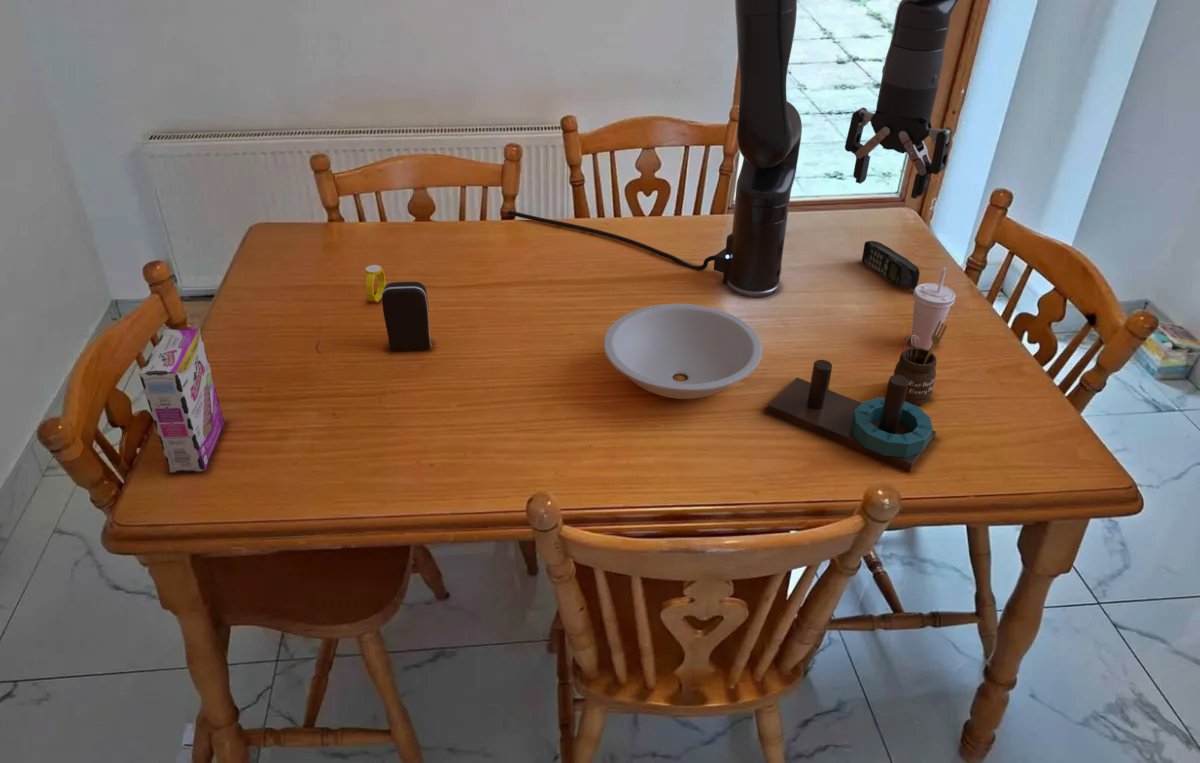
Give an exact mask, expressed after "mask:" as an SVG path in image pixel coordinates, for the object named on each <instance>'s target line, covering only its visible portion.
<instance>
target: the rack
mask: <svg viewBox="0 0 1200 763" xmlns="http://www.w3.org/2000/svg"><path fill="white" fill-rule="evenodd" d="M832 370H833V364H832V362H830V361H828V360H825V359H817V360H815V361H814V362H813V365H812V371H811V377H810V381H808V380H805V379H802V378H800V377H796V378H794V379H793V381H792V382H790V383H789V384H788V386H786V387H785V388H784V389H783V390H782V391H781V392H780V393H779V394H778V395H777V396H776V397H775V398H773V400H772V401H771V402H769V404H768V405H767V414H769V415H771V416H774V417H775V418H778V419H780V420H783V421H785V422H788V423H791V424H793V425H795V426H797V427H800V428H802V429H805V430H807V431H809V432H812V433H815V434H817V435H819V436H822V437H823V438H827V439H829V440H832V441H833V442H836V443H839V444H841V445H843V446H846V447H848V448H851V449H853V450H856V451H858V452H860V453H863V454H865V455H867V456H870V457H872V458H874V459H877V460H880V461H882V462H884V463H886V464H889V465H890V466H894V467H896V468H898V469H901V470H903V471H906V472H908V473H911V472H912V470H913V469H914V467H915V466H916V465H917V464H918V462H919V461H920V460H921V458H922V457H923V455H924V454H925V453H927V452H926V451H927V450H928V449H929V448H930V446H931V445H932V444H933V442H934V441H935V439H936V436H937V431H936V430H934V429H933V431H932V435H931V439H930V442H929V444H928V445H927V446H926V448H925V449H924V450H923V452H922V453H918V454H915V455H911V456H908V457H896V456H885V455H882V454H879V453H877V452H875V451H872V450H870V449H867V448H865V447H864V446H863V445H862V444H861V443H860V442H859V441H858V440H857V439H856V438H855V437H854V436H853V429H852V420H853V415H854V411H855V410H856V409H857V408H858V407H859V405H860V404H861V403H862V402H863V401H859V400H856V399H853V398H851V397H848V396H846V395H843V394H841V393H838V392H835V391H833V390H830V389H829V386H830V381H831V375H832ZM887 382H888V383H887V388H886V391H885V395H884V398H885V400H884V404H883V409H882V413H881V418H880V419H879V420H875V421H872V422H871V423H872V424H873V425H874V426H875V427H876V428H877V429H880V430H882V431H885V432H887V433H889V434H900V435H903V434H907V433H910V432H913V431H912V430H911V429H909V428H908V427H907V426H906V425H905V424H902V423H900V418H901V413H902V409H903V405H904V401H905V397H906V393H907V389H908V384H909V380H908V379H907V378H906V377H904V376H901V375H894V374H892V375H890V376H889V378H888V381H887Z"/></svg>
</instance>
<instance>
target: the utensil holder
mask: <svg viewBox="0 0 1200 763" xmlns="http://www.w3.org/2000/svg"><path fill="white" fill-rule="evenodd" d="M940 324H941V321H939V323H938V325H937V327H936V329H935V331H934V333H933V335H932V338H931V339H932V342H933V344H932V346H931V348H930V349H929V350H926V349H922V348H916V347H914V346H913V342H912V341H911V340H910V345H911V347H908V345H907V344H908V340H909V339H908V338H911V337H912V336H913V335H912V334H910V335H907V336H906V337H905V338H904V340H903V341H905V340H906V341H905V343H902V344H903V346H902V348H903V350H902V352H901V354H900V355H899V360H898V361H897V363H896V365H895V367H894V371H893V375H901V376H904V377H906V378H907V379H908V380H909V384H908V389H907V393H906V397H905V402H908V403H910V404H913V405H915V406H918V405H923V404H925V403H927V402H928V401H929V400H930V398H931V396H932V393H933V389H934V385H935V380H936V375H937V371H936V367H937V357H936V354H934V353H933V350H934V348H935V345H937V344H938V345H939V344H940V343H941V342H942V338H943V336H944V334H945V332H946V330H947V328H948V325H947V324H945V322H944V323H942V325H941V327H940V329H939V331H938V328H939V326H940ZM937 331H938V333H937ZM936 333H937V335H936ZM915 336H916V335H914V337H915ZM917 337H918V336H917ZM914 339H915V338H914ZM919 341H920V340H919ZM916 343H917V342H916ZM904 346H905V347H904ZM904 348H905V349H904Z"/></svg>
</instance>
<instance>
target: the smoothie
mask: <svg viewBox="0 0 1200 763" xmlns="http://www.w3.org/2000/svg"><path fill="white" fill-rule="evenodd" d="M946 272H947V267H942V269H941V273H940V278H939V281H938V282H939V283H932V282H924V283H921V284H917V287H916V288H915V290H913V293H912V297H913V299H914V302H913V314H912V326H911V335H913V336H912V337H911V336H910V342H911V341H912V342H913V348H922V349H926V350H928V351H929V350H930V348H931V346H932V344H933V342H932V339H931V338H932V335H933V333H934V331H935V329H936V327H937V325H938V323H939V321H941V324H940V326H939V328H938V331H939V329H940V327H941V325H942V323H944V324H945V322H946V318H947V316H948V314H949V311H950V309H951V307H952V305H954V304H955V299H956V293H955V291H953V289H952V288H950V287H948V286H946V285H944V280H945V276H946ZM938 331H937V333H938ZM937 333H936V335H937ZM914 335H916V336H915V337H914ZM917 336H918V337H917ZM914 338H915V339H914ZM919 340H920V341H919ZM916 342H917V343H916Z"/></svg>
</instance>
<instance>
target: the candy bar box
mask: <svg viewBox="0 0 1200 763" xmlns="http://www.w3.org/2000/svg"><path fill="white" fill-rule="evenodd" d="M138 376H139V378H140V382H141V385H142V388H143V391H144V394H145V397H146V400H147V405H148V407H149V410H150V413H151V416H152V420H153V422H154V425H155V429H156V432H157V436H158V438H159V442H160V444H161V448H162V451H163V455H164V457H165V461H166V465H167V467H168V470H169V473H170V474H182V473H204V472H206V470H207V467H208V465H209V462H210V459H211V457H212V455H213V452H214V450H215V447H216V446H217V442H218V440H219V437H220V435H221V433H222V430H223V428H224V426H225V419H224V416H223V412H222V408H221V403H220V401H219V397H218V394H217V390H216V385H215V382H214V377H213V375H212V370H211V366H210V362H209V359H208V355H207V351H206V347H205V343H204V339H203V335H202V332H201V328H169V329H166V328H165V329H164V330H163V332H162V333H161V336H160V337H159V339H158V341H157V342H156V344H155V345H154V347H153V349H152V351H151V353H150V354H149V356H148V357H147V359H146V361H145V363H144V364H143V366H142V367H141V369H140V371H139V372H138Z"/></svg>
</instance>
